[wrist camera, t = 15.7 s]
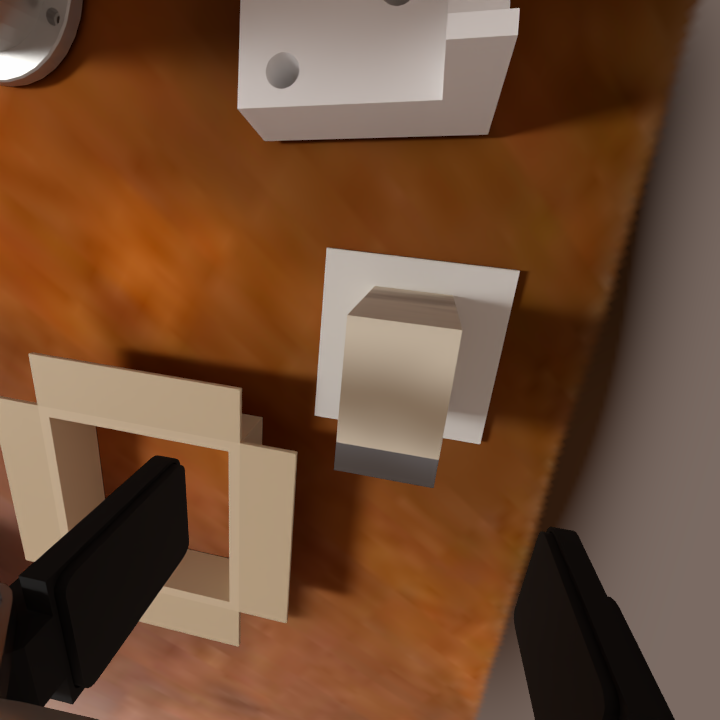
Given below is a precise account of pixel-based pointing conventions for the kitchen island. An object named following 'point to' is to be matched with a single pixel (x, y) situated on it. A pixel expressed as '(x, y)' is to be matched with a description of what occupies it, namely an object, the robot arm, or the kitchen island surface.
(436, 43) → the bracket
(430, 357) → the birch box
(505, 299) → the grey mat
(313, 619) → the kitchen island surface
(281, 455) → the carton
